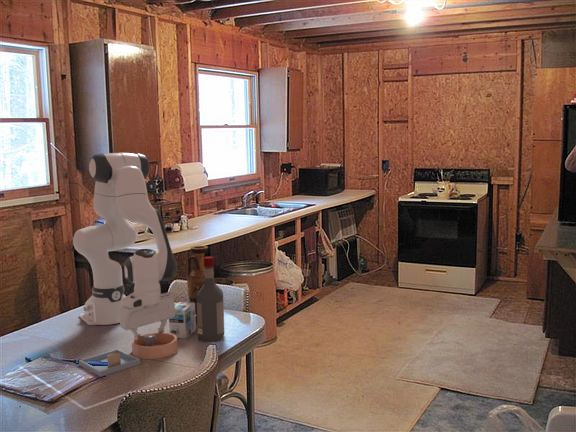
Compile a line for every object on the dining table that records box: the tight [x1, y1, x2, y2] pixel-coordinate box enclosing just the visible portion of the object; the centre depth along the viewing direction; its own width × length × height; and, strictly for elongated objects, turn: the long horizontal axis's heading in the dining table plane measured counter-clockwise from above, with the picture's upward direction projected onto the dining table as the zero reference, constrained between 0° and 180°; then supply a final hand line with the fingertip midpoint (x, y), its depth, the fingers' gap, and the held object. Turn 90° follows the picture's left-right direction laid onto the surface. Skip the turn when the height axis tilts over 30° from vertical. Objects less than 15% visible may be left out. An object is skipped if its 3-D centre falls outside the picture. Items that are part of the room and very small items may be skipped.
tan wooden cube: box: [107, 353, 121, 368], centre depth 191 cm, size 4×4×4 cm
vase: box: [185, 245, 209, 325], centre depth 237 cm, size 11×11×30 cm
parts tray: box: [78, 348, 141, 378], centre depth 194 cm, size 14×14×2 cm
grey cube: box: [144, 334, 156, 347], centre depth 208 cm, size 4×4×4 cm
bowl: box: [131, 331, 178, 360], centre depth 206 cm, size 15×15×4 cm
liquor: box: [196, 255, 225, 343], centre depth 217 cm, size 9×9×30 cm
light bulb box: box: [168, 301, 197, 339], centre depth 224 cm, size 11×7×11 cm, turn 168°
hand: (149, 335), depth 207 cm, fingers open, 8 cm apart
